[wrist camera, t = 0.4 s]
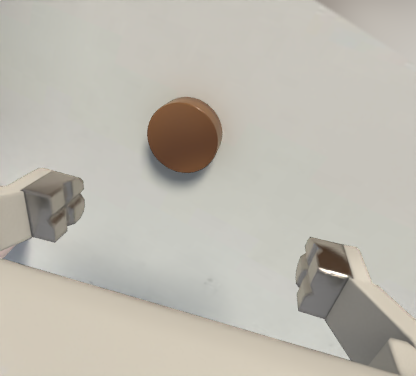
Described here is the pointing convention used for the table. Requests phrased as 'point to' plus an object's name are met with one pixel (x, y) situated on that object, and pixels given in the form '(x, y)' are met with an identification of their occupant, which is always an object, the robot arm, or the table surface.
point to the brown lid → (185, 134)
